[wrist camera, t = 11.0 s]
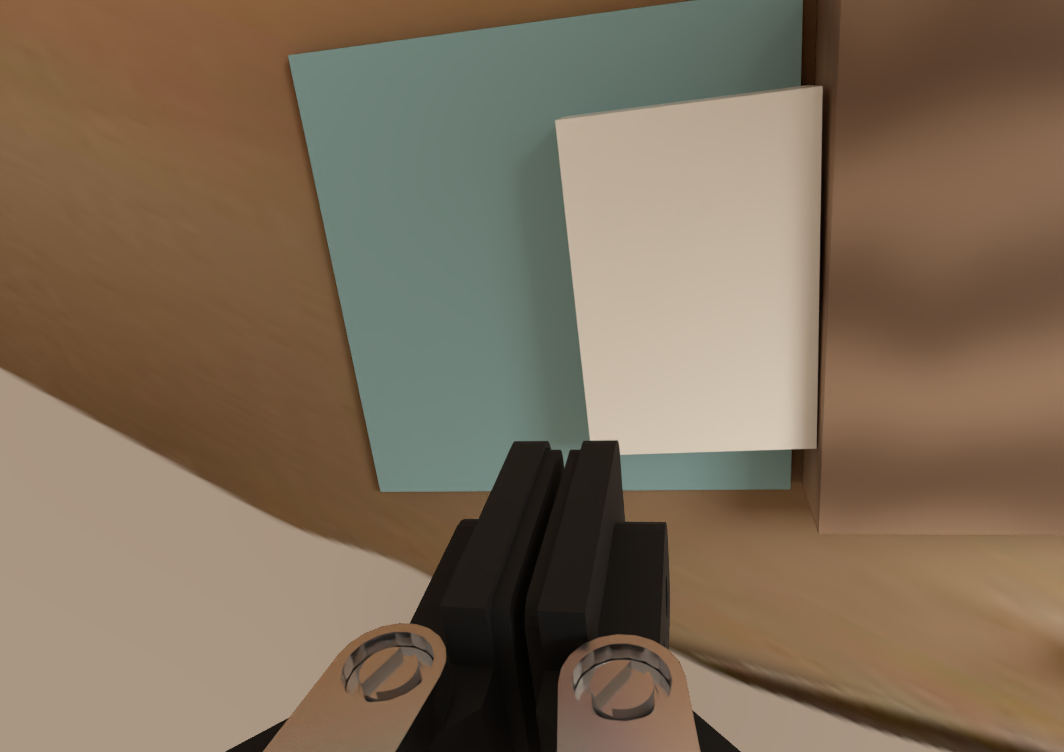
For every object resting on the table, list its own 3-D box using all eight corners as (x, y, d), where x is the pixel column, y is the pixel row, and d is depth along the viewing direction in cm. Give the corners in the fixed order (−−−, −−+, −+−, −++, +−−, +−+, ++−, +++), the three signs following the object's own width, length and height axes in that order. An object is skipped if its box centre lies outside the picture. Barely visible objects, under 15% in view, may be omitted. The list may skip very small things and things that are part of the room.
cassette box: (564, 116, 25) (555, 120, 23) (808, 85, 24) (822, 86, 21) (597, 427, 29) (591, 455, 27) (804, 419, 28) (816, 448, 26)
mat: (292, 55, 26) (287, 55, 26) (801, -14, 23) (803, -15, 23) (383, 487, 33) (380, 491, 33) (789, 484, 29) (790, 489, 29)
